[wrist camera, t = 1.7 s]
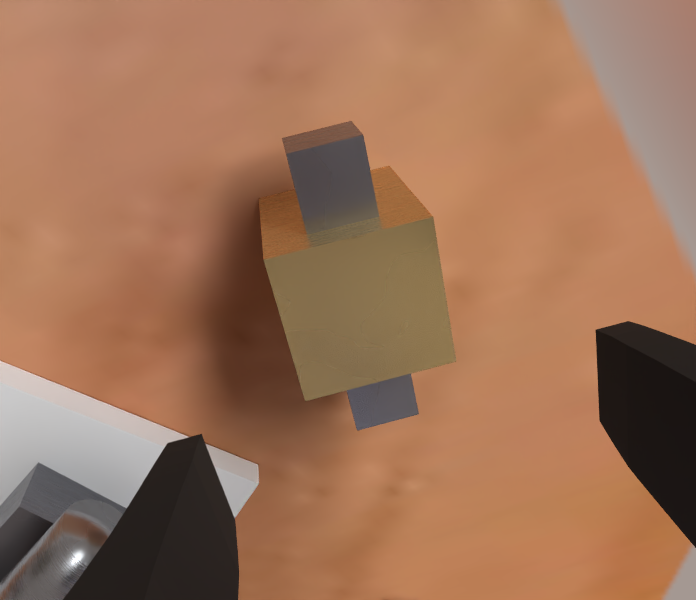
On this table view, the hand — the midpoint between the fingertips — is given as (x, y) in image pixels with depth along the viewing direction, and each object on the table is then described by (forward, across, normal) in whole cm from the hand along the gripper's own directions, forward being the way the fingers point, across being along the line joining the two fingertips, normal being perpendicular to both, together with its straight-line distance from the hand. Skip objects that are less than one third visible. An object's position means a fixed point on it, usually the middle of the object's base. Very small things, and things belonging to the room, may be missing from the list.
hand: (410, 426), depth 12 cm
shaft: (+8, +11, +7) cm, 15 cm away
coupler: (+10, 0, 0) cm, 10 cm away
